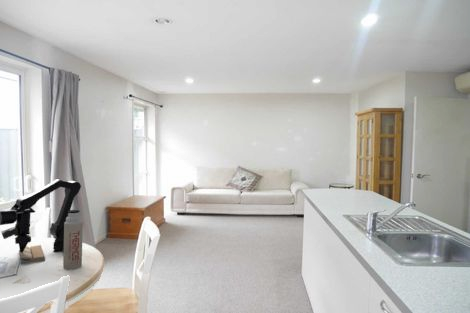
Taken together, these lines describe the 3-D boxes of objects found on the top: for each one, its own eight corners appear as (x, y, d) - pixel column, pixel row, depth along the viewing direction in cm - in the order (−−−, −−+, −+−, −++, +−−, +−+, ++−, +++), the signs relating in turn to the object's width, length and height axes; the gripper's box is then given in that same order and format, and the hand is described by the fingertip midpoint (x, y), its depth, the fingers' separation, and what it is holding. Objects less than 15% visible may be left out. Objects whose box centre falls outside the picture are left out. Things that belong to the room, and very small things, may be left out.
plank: (19, 246, 159) (20, 244, 159) (28, 248, 161) (29, 246, 161) (21, 257, 144) (22, 255, 144) (31, 259, 146) (32, 257, 147)
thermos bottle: (81, 268, 142) (83, 211, 141) (62, 271, 138) (64, 212, 137) (81, 262, 149) (83, 208, 148) (63, 264, 145) (65, 209, 144)
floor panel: (19, 252, 159) (19, 248, 159) (40, 248, 165) (40, 245, 165) (20, 264, 143) (20, 260, 143) (44, 260, 150) (44, 256, 150)
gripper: (3, 219, 151) (1, 249, 151) (3, 228, 137) (1, 261, 137) (29, 217, 158) (27, 246, 158) (31, 225, 144) (30, 256, 144)
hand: (21, 252), depth 149 cm, fingers closed, pressing on plank
